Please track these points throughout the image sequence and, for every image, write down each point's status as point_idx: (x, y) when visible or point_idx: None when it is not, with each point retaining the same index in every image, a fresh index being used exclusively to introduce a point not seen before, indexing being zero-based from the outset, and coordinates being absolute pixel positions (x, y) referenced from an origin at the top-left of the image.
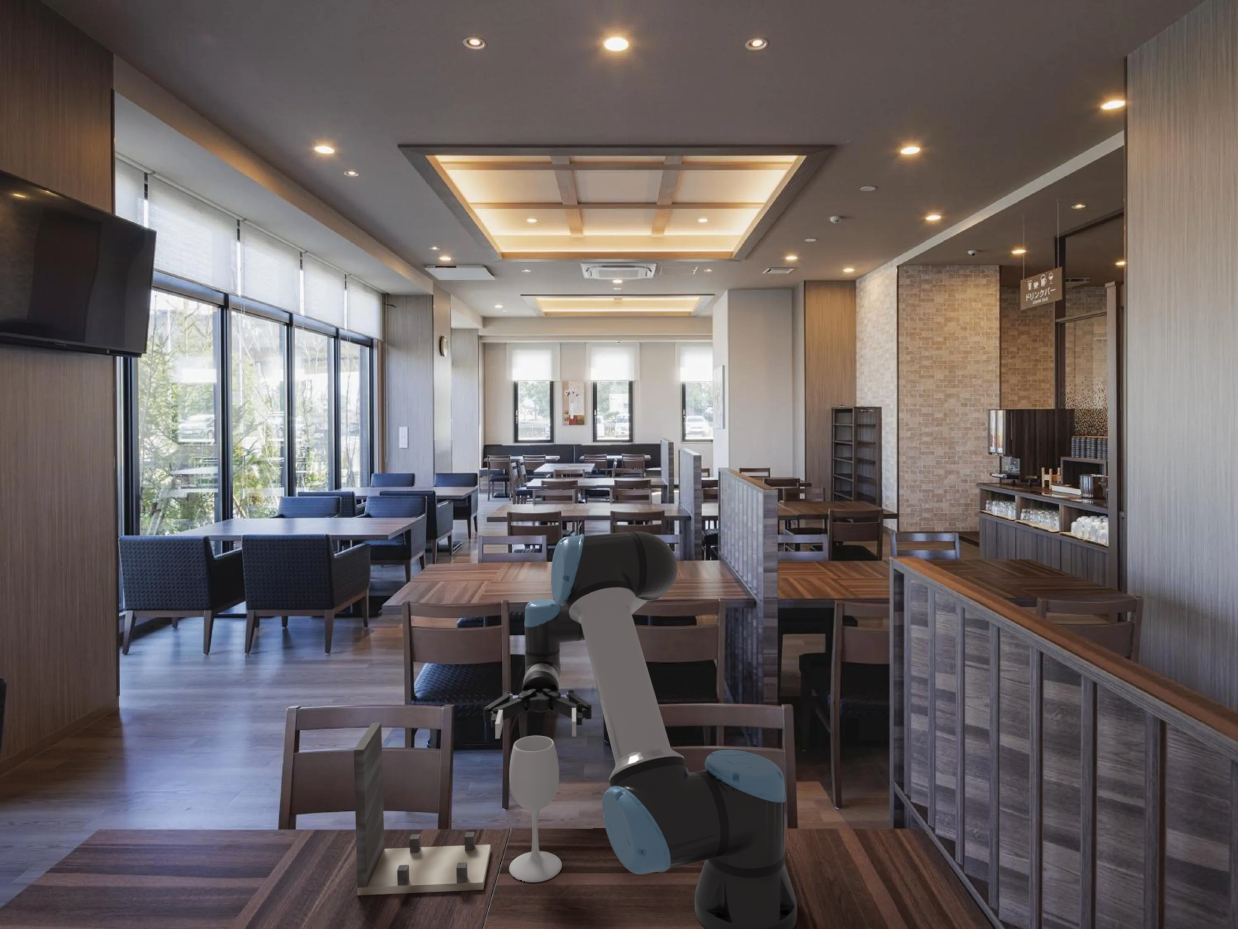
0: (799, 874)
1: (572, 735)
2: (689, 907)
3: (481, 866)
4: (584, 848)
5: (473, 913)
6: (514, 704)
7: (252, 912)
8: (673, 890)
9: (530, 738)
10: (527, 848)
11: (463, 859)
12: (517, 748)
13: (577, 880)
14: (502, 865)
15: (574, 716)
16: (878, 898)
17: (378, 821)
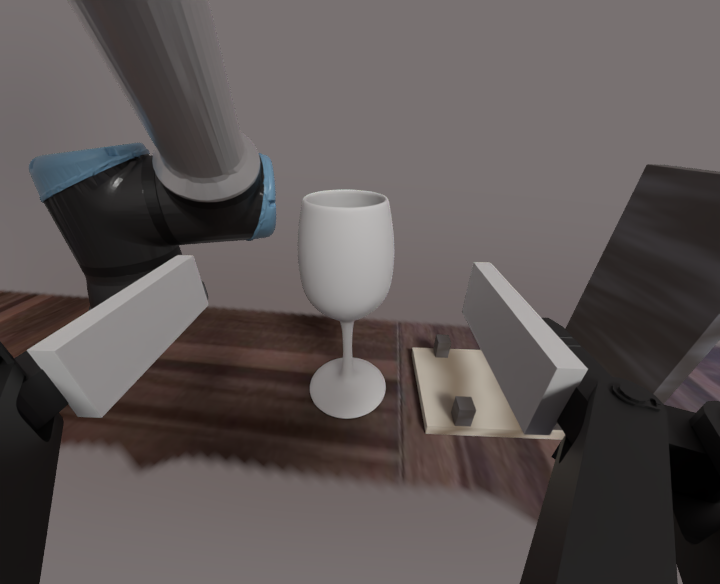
0: (33, 343)
1: (206, 301)
2: (200, 316)
3: (424, 373)
4: (262, 424)
5: (411, 327)
6: (556, 561)
7: None
8: (197, 335)
9: (352, 212)
10: (360, 436)
11: (457, 391)
12: (378, 193)
13: (296, 358)
14: (397, 395)
15: (148, 277)
16: (17, 310)
17: (627, 357)
